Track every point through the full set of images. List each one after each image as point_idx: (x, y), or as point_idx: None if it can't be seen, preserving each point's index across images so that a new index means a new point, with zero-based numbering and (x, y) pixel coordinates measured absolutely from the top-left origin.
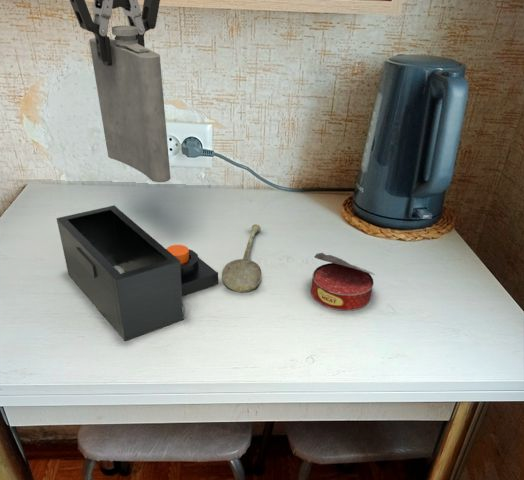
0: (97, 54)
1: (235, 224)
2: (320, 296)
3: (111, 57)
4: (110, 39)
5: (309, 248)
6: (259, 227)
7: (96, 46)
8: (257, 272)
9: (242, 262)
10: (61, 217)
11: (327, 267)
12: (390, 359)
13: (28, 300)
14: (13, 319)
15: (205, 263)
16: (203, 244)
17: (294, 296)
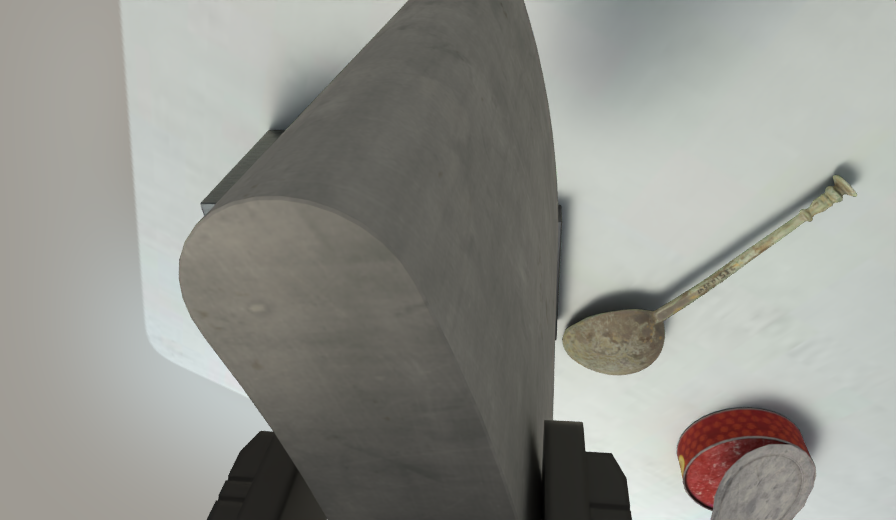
0: (236, 460)
1: (836, 101)
2: (680, 459)
3: (325, 517)
4: (423, 347)
5: (870, 314)
6: (851, 195)
7: (212, 512)
8: (634, 371)
9: (625, 348)
10: (213, 205)
11: (763, 442)
12: None
13: (177, 182)
14: (151, 226)
15: (556, 300)
16: (649, 162)
17: (657, 414)
